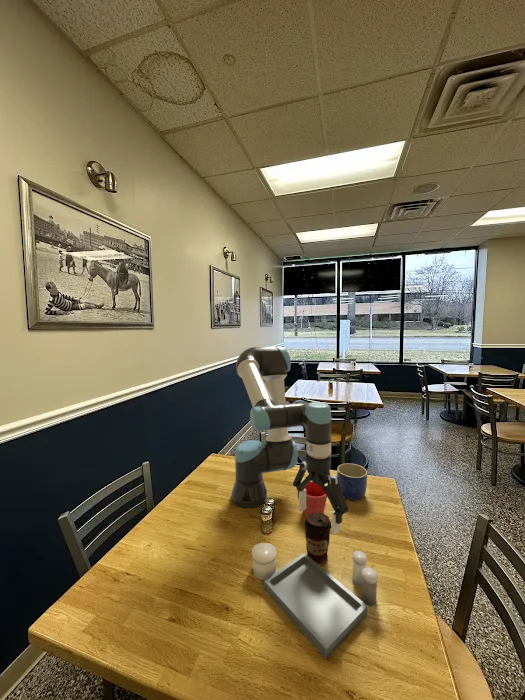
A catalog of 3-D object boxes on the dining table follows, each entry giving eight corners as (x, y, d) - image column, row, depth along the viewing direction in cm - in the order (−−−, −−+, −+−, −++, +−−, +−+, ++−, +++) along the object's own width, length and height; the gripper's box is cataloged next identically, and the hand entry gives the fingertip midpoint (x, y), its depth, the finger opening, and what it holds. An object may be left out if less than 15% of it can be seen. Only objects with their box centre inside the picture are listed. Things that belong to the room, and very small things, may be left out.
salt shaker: (349, 579, 84) (350, 555, 83) (357, 572, 86) (357, 548, 85) (361, 589, 81) (361, 563, 80) (368, 581, 83) (369, 556, 82)
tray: (264, 588, 81) (264, 580, 81) (304, 560, 91) (304, 552, 90) (326, 659, 64) (326, 649, 63) (367, 614, 73) (367, 605, 73)
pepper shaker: (358, 598, 78) (359, 572, 77) (366, 590, 80) (367, 565, 79) (371, 609, 75) (372, 582, 74) (379, 600, 77) (380, 574, 76)
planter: (369, 491, 128) (370, 467, 127) (362, 506, 117) (363, 480, 116) (341, 483, 134) (342, 460, 133) (333, 496, 124) (333, 472, 123)
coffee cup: (331, 571, 86) (332, 530, 85) (303, 566, 88) (303, 526, 87) (330, 549, 95) (331, 511, 94) (305, 545, 97) (305, 508, 96)
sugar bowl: (247, 568, 88) (246, 550, 87) (266, 556, 92) (265, 539, 92) (262, 585, 82) (261, 566, 82) (281, 571, 87) (281, 553, 86)
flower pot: (330, 507, 117) (330, 484, 116) (324, 524, 107) (324, 499, 106) (304, 501, 121) (304, 478, 120) (296, 516, 111) (296, 492, 110)
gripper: (282, 444, 96) (282, 506, 98) (345, 473, 77) (344, 549, 78) (298, 439, 101) (298, 497, 102) (361, 464, 81) (360, 536, 83)
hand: (318, 520), depth 90 cm, fingers open, 13 cm apart
